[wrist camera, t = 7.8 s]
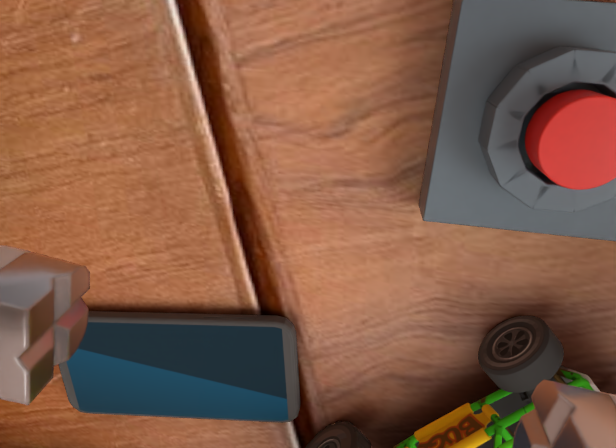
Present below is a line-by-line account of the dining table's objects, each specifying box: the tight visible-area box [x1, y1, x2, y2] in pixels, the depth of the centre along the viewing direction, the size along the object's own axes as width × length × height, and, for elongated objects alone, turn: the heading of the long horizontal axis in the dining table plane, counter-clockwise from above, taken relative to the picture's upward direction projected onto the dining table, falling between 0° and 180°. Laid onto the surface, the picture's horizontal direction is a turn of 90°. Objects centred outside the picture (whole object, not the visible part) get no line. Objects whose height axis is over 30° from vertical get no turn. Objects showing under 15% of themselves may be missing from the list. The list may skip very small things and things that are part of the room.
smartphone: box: [59, 311, 300, 423], centre depth 31 cm, size 8×15×1 cm, turn 92°
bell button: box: [525, 89, 616, 190], centre depth 19 cm, size 4×4×2 cm
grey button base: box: [419, 0, 616, 241], centre depth 22 cm, size 10×10×4 cm
